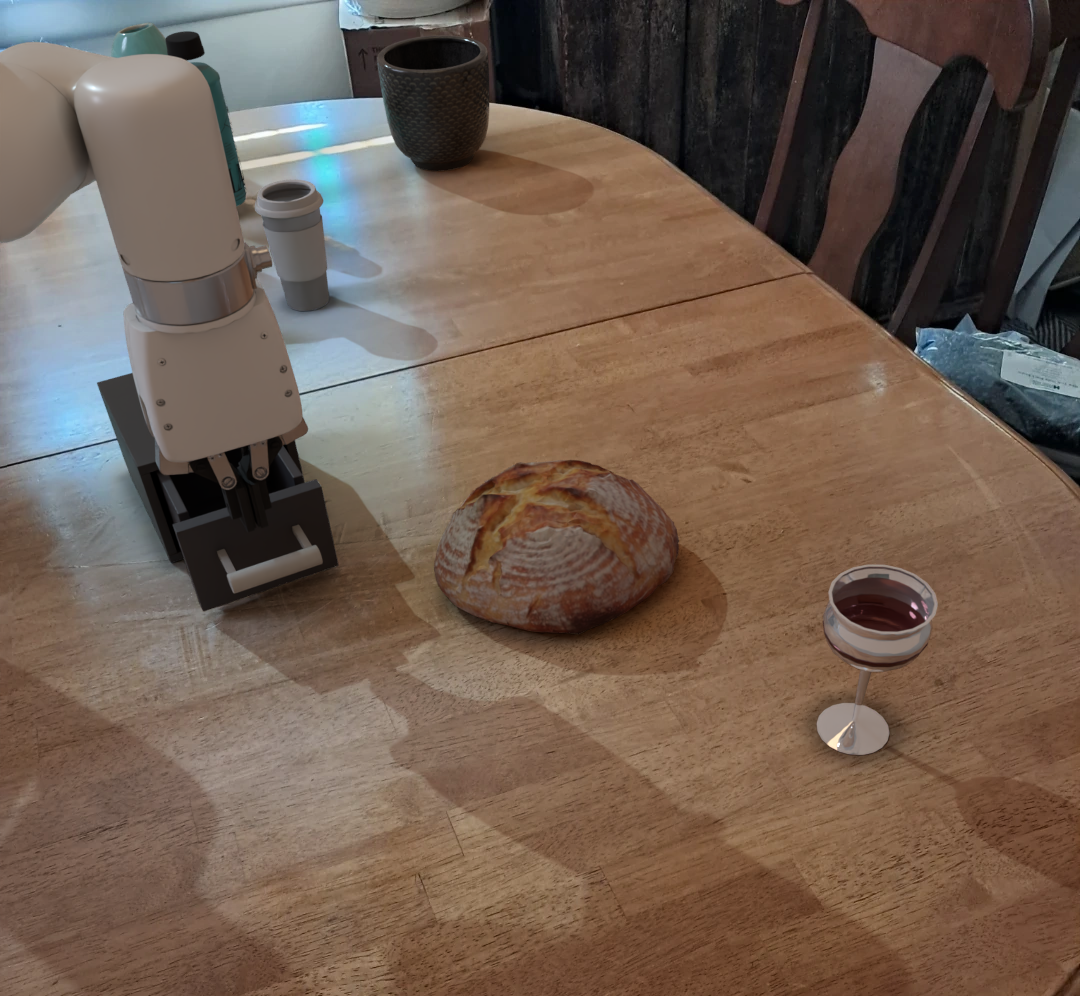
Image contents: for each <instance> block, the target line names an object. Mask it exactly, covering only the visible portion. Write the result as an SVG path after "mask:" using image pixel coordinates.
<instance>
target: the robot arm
mask: <svg viewBox="0 0 1080 996" xmlns="http://www.w3.org/2000/svg"><path fill="white" fill-rule="evenodd" d="M190 62H191V61H189V60H187V61H186V60H184V59H182V58H178V57H174V56H168V55H160V54H141V55H131V56H125V57H120V58H115V57H111V56H110V55H109V56H108V55H105V54H104V55H103V54H100V53H94V52H91V51H86V50H82V49H78V48H74V47H71V46H65V45H62V44H57V43H51V42H44V41H43V42H42V41H32V42H31V41H26V42H21V43H18V44H14V45H12V46H9V47H7V48H5V49H4V50H2V51H0V244H6V243H11V242H14V241H18V240H19V239H22V238H24V237H26V236H28V235H30V234H31V233H32V232H33V231H34V230H36V229H37V228H39V226H40V225H42V224H43V223H44V222H45V221H46V220H47V219H48V218H49V217H50V216H51V215H52V214H53V213H54V212H55V211H56V210H57V209H58V208H59V207H60V206H61V205H62V204H63V203H64V202H65V201H66V200H67V199H68V198H69V197H70V196H71V195H73V194H74V193H77V192H78V191H80V190H81V189H83V188H85V187H87V186H89V185H91V184H92V183H94V182H96V185H97V188H98V192H99V194H100V198H101V201H102V205H103V208H104V211H105V214H106V218H107V221H108V222H107V223H108V225H109V228H110V232H111V235H112V238H113V241H114V245H115V248H116V252H117V255H118V259H119V261H120V265H121V268H122V272H123V274H124V278H125V281H126V284H127V288H128V292H129V294H130V298H131V301H132V302H131V303H128V304H127V306H125V308H124V309H123V314H122V315H123V328H124V336H125V342H126V349H127V354H128V358H129V359H128V360H129V364H130V368H131V373H133V377H134V381H135V385H136V389H137V393H138V397H139V400H140V404H141V408H142V411H143V415H144V418H145V421H146V423H147V426H148V429H149V431H150V433H151V435H152V436H153V437H155V461H156V464H157V466H158V468H159V470H160V472H161V473H162V474H164V475H176V474H189V472H194V473H196V474H198V475H200V476H203V477H205V478H207V479H209V480H211V481H214V482H216V483H218V484H220V486H221V489H222V493H223V496H224V500H225V503H226V507H227V510H228V512H229V515H230V517H231V518H232V520H235V519H238V518H240V520H241V522H242V523H243V525H244V527H245V529H246V531H247V532H248V533H249V532H252V531H255V529H256V528H257V527H256V524H257V526H258V527H261V528H265V527H268V526H269V525H268V521H267V517H266V513H265V510H267V509H270V508H272V505H271V501H270V497H269V493H268V488H267V484H266V480H265V478H266V477H267V476H268V474H269V466H270V465H271V463H272V462H273V460H274V459H275V457H276V456H277V454H278V453H279V451H280V450H281V448H282V446H283V445H285V444H286V445H287V444H289V443H291V442H293V441H294V440H295V441H296V440H299V439H301V438H302V437H304V436H305V435H306V434H308V432H309V426H308V424H307V422H306V420H305V418H304V417H303V405H302V400H301V396H300V392H299V387H298V383H297V380H296V377H295V373H294V370H293V367H292V366H293V365H292V363H291V359H290V355H289V352H288V350H287V349H288V348H287V346H286V343H285V340H284V336H283V334H282V331H281V328H280V325H279V321H278V320H277V317H276V314H275V312H274V309H273V307H272V304H271V302H270V300H269V298H268V296H267V293H266V292H265V289H264V287H263V285H262V283H261V282H260V281H259V280H258V274H260V273H262V271H263V270H264V269H265V270H266V269H269V268H272V267H273V258H272V255H271V251H270V249H269V248H268V246H267V245H261V246H258V247H255V245H251V246H249V245H248V243H247V242H245V239H244V235H243V230H242V226H241V221H240V217H239V212H238V206H237V207H236V202H235V198H234V193H233V188H232V184H231V179H230V175H229V170H228V165H227V161H226V156H225V152H224V147H223V143H222V138H221V133H220V129H219V124H218V120H217V115H216V111H215V106H214V102H213V98H212V94H211V91H210V87H209V85H208V83H207V81H206V79H205V77H204V76H203V74H202V73H201V71H200V70H199V69H198V68H197V67H196V66H194V65H193V64H191V63H190ZM240 447H241V456H242V459H241V461H240V462H239V463H238V464H239V467H237V470H238V472H237V470H236V469H235V468H234V466H233V465H232V464H231V463H229V462H228V460H227V458H226V455H225V453H224V452H226V451H230V450H233V449H237V448H240ZM255 522H256V523H255Z"/></svg>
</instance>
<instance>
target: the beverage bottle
mask: <svg viewBox="0 0 1080 996" xmlns="http://www.w3.org/2000/svg"><path fill="white" fill-rule="evenodd" d="M165 41H166V47H167V54H168V56H174V57H178V58H182V59H184V60H186V61H189V62H190V63H191V64H193V65H194V66H196V67H197V68H198V69H199V70H200V71H201V73H202V74H203V76H204V77H205V79H206V81H207V83H208V85H209V87H210V91H211V94H212V98H213V102H214V106H215V111H216V115H217V120H218V124H219V129H220V133H221V138H222V143H223V147H224V152H225V156H226V161H227V165H228V170H229V175H230V179H231V184H232V188H233V193H234V198H235V202H236V207H237V208H238V207H239V206H241V205H243V204H244V203H245V202H246V199H247V191H248V189H247V187H246V182H245V177H244V172H243V171H242V168H243V167H242V166H241V165H242V164H241V159H240V157H239V156H238V150H237V148H238V146H237V145H236V141H235V139H234V135H233V134H234V131H233V128H232V126H233V124H232V122H231V120H230V115H229V114H230V111H229V107H228V105H227V103H226V96H225V95H224V92H223V87H222V84H221V83H222V82H221V77H220V74H219V72H218V71H217V70H216V69H215V68H213V67H212V66H211V65H209V64H207V63H205V62H200V61H192V60H196V59H199V58H201V57H203V56H204V55H205V53H206V52H205V47H204V46H203V43H202V39H201V37H200V34H199V33H198V32H196V31H193V30H192V31H191V30H186V31H184V30H183V31H177V32H173V33H171V34H169V35H167V36H166V37H165Z"/></svg>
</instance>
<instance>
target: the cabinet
mask: <svg viewBox="0 0 1080 996" xmlns="http://www.w3.org/2000/svg"><path fill="white" fill-rule="evenodd" d="M96 385H97V388H98V391H99V394H100V396H101V399H102V402H103V405H104V406H105V410H106V413H107V416H108V419H109V421H110V424H111V427H112V429H113V432H114V435H115V438H116V440H117V443H118V446H119V449H120V452H121V455H122V457H123V461H124V462H125V463H124V464H125V466H126V468H127V471H128V474H129V477H130V479H131V481H132V483H133V485H134V487H135V490H136V492H137V495H138V496H139V498H140V501H141V503H142V505H143V506H144V509H145V511H146V513H147V516H148V518H149V520H150V521H151V524H152V526H153V528H154V530H155V533H156V535H157V538H158V539H159V541H160V543H161V546H162V547H163V550H164V551H165V554H166V556H167V558H168V560H169V562H170V563H171V564H173V563H177V562H179V561H182V560H184V557H183V554H182V551H181V549H180V546H179V543H178V540H177V537H176V534H175V531H174V529H173V527H172V525H171V523H170V521H169V519H168V517H167V514H166V511H165V508H164V505H163V502H162V499H161V496H160V494H159V491H158V488H157V485H156V482H155V479H154V476H153V473H152V472H153V471H156V470H159V468H158V466H157V464H156V461H155V437H153V436H152V435H151V433H150V431H149V429H148V426H147V423H146V421H145V418H144V415H143V411H142V408H141V404H140V400H139V397H138V393H137V389H136V385H135V381H134V377H133V373H132V372H130V373H126V374H123V375H120V376H116V377H112V378H109V379H105V380H100V381H97V382H96ZM283 446H284V447H285V449H286V451H287V452H288V454H289V455H290V457H291V458H292V460H293V461H294V463H295V464H296V466H297V467H298V469H299V470H300V472H301V474H302V475H303V479H304V480H305V477H304V473H303V469H302V464H301V459H300V456H299V452H298V447H297V442H296V440H294V441H293V442H291V443H289V444H287V445H286V444H285V445H283ZM305 482H306V481H304V483H305Z"/></svg>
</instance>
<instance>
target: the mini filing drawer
mask: <svg viewBox="0 0 1080 996" xmlns="http://www.w3.org/2000/svg"><path fill="white" fill-rule="evenodd" d="M224 453H225V455H226V458H227V460H228V462H229V463H231V464H232V465H233V466H234V468H235V469H236V470H237V467H239V464H238V463H239V462H240V461H241V459H242V456H241V447H240V448H237V449H233V450H230V451H226V452H224ZM237 472H238V470H237ZM152 473H153V476H154V479H155V482H156V485H157V488H158V491H159V494H160V496H161V499H162V502H163V505H164V508H165V511H166V514H167V517H168V519H169V521H170V523H171V525H172V527H173V529H174V531H175V534H176V537H177V540H178V543H179V546H180V549H181V551H182V554H183V557H184V559H183V560H184V564H185V566H186V569H187V572H188V575H189V578H190V580H191V584H192V586H193V589H194V592H195V595H196V598H197V602H198V604H199V606H200V608H201V610H202V612H203V613H205V612H207V611H209V610H213V609H215V608H218V607H221V606H225V605H228V604H230V603H234V602H237V601H240V600H243V599H246V598H248V597H251V596H254V595H256V594H260V593H263V592H266V591H269V590H272V589H275V588H277V587H281V586H283V585H287V584H289V583H292V582H295V581H298V580H301V579H304V578H306V577H310V576H313V575H315V574H318V573H321V572H323V571H328V570H330V569H333V568H336V567H338V566H339V559H338V557H337V552H336V547H335V541H334V537H333V534H332V528H331V524H330V519H329V515H328V510H327V506H326V505H327V504H326V501H325V496H324V491H323V486H322V485H321V484H320V482H319V480H318V479H316V478H315V479H312V480H309V481H305V478H304V479H303V477H304V474H303V475H302V474H301V472H300V470H299V469H298V467H297V466H296V464H295V463H294V461H293V460H292V458H291V457H290V455H289V454H288V452H287V451H286V449H285V447H284V446H282V448H281V450H280V451H279V453H278V454H277V456H276V457H275V459H274V460H273V462H272V463H271V465H270V466H269V474H268V476H267V477H266V478H265V480H266V484H267V488H268V493H269V497H270V501H271V505H272V508H270V509H267V510H265V513H266V517H267V521H268V525H269V526H268V527H265V528H261V527H258V526H257V524H256V527H257V528H256V529H255V531H252V532H249V533H248V532H247V531H246V529H245V527H244V525H243V523H242V522H241V520H240V518H238V519H235V520H232V518H231V517H230V515H229V512H228V510H227V507H226V503H225V500H224V496H223V493H222V489H221V486H220V484H218V483H216V482H214V481H211V480H209V479H207V478H205V477H203V476H200V475H198V474H196V473H194V472H189V474H176V475H164V474H162V473H161V472H160V470H156V471H153V472H152ZM304 482H305V483H304ZM255 523H256V522H255Z"/></svg>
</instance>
